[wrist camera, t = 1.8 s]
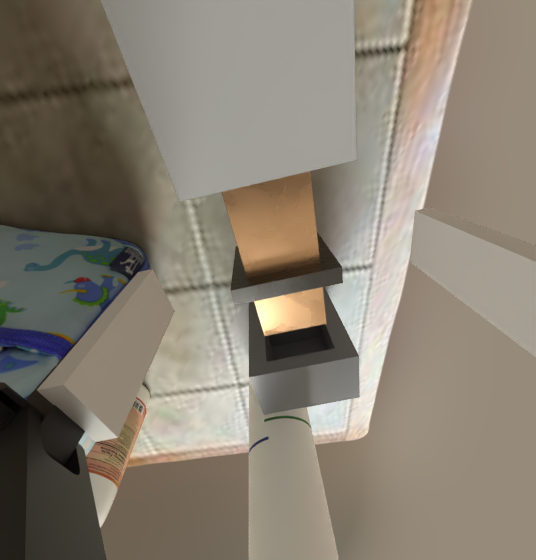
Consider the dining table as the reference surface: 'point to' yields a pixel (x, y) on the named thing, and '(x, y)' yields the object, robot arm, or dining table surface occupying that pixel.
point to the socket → (302, 364)
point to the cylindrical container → (286, 488)
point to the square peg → (280, 253)
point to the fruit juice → (115, 456)
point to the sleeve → (241, 86)
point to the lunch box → (55, 298)
